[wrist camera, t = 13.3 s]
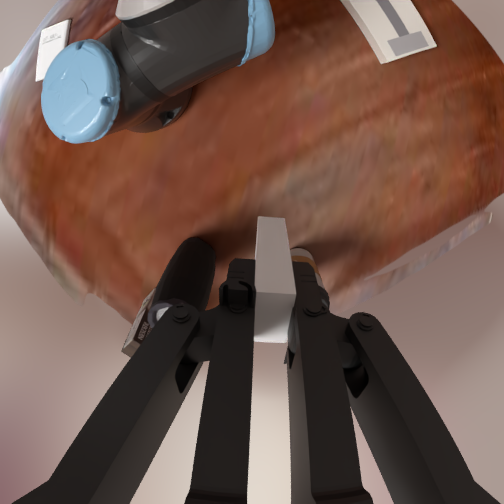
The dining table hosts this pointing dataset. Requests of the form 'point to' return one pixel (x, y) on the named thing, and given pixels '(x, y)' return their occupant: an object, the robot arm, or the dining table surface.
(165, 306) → the portable speaker
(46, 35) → the external hard drive
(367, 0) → the switch panel
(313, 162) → the dining table surface
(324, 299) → the coffee cup
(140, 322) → the coffee box
